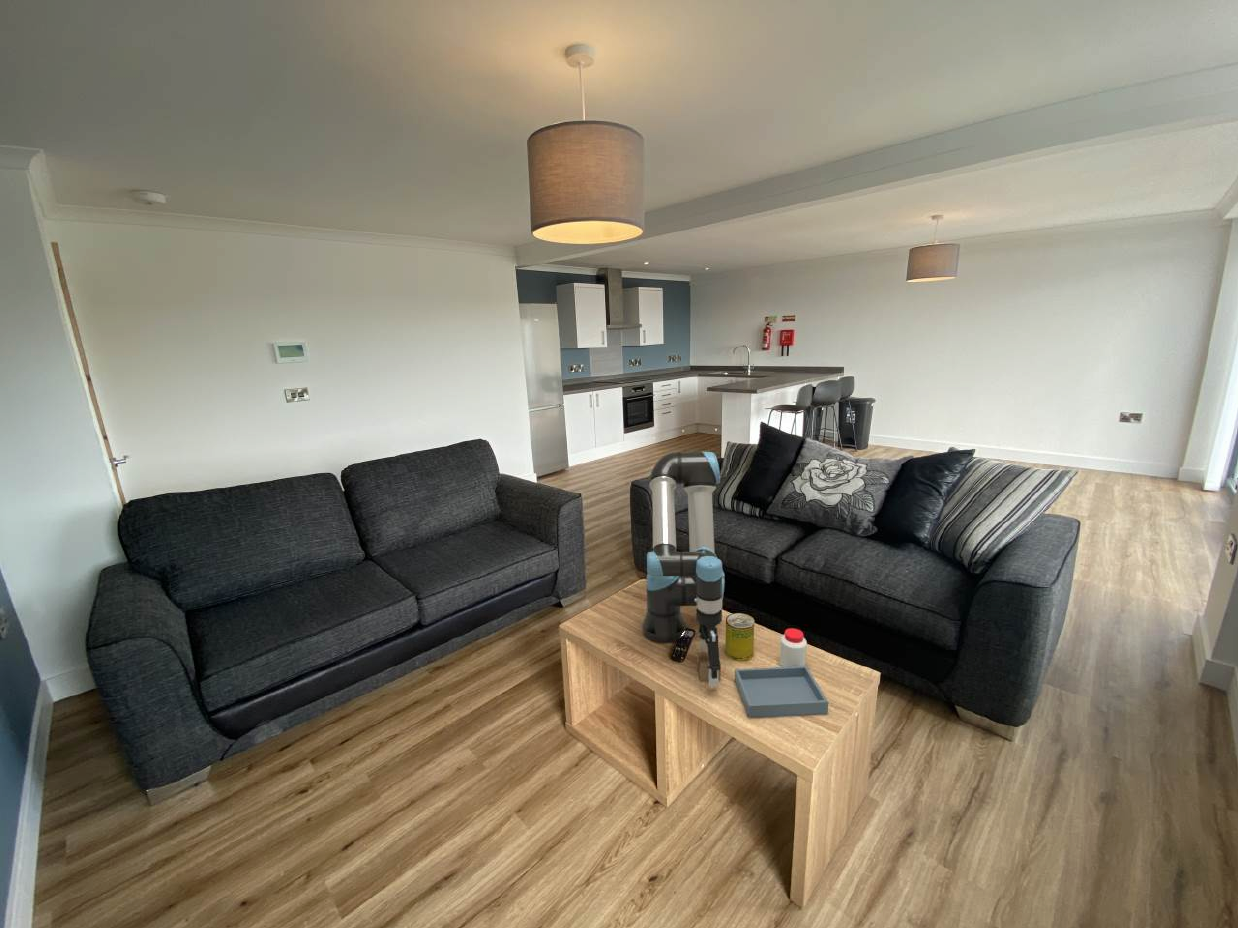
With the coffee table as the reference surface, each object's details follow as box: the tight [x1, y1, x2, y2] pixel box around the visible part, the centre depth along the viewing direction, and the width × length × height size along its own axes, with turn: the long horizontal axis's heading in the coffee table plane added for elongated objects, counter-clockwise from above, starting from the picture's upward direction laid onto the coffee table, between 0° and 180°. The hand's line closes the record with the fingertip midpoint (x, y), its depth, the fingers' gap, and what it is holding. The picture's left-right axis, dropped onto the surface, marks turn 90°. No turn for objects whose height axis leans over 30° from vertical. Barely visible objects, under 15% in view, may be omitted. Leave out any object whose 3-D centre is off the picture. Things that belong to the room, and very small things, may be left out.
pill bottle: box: [779, 627, 808, 667], centre depth 158 cm, size 8×8×11 cm
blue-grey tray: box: [734, 665, 829, 719], centre depth 146 cm, size 16×22×4 cm
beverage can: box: [724, 612, 755, 663], centre depth 165 cm, size 9×9×12 cm
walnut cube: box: [696, 651, 722, 683], centre depth 156 cm, size 6×6×6 cm
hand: (708, 671), depth 156 cm, fingers open, 13 cm apart
